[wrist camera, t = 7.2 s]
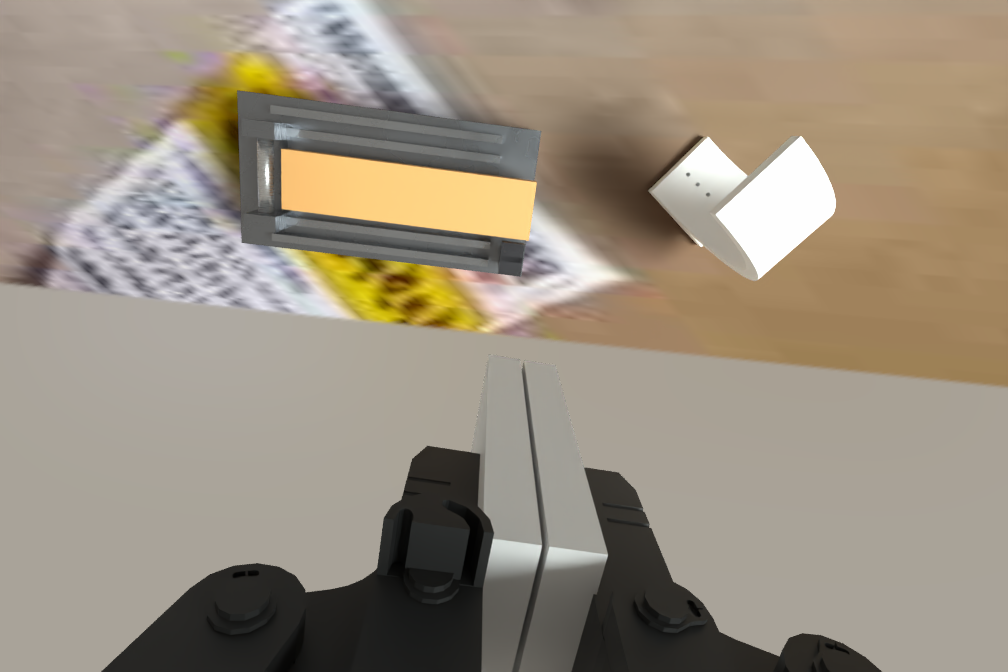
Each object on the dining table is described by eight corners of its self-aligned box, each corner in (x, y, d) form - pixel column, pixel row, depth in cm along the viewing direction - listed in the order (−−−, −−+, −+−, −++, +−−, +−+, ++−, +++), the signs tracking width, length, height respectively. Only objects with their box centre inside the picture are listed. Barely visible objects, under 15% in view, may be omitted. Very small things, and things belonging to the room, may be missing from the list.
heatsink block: (275, 229, 37) (220, 251, 29) (273, 97, 34) (213, 86, 27) (518, 259, 37) (522, 287, 30) (535, 131, 35) (544, 130, 28)
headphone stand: (703, 136, 35) (801, 135, 24) (762, 206, 36) (881, 236, 25) (647, 190, 36) (715, 214, 25) (706, 256, 37) (796, 307, 26)
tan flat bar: (288, 206, 30) (281, 209, 29) (288, 148, 29) (281, 148, 28) (528, 237, 31) (528, 240, 30) (536, 180, 30) (536, 182, 29)
